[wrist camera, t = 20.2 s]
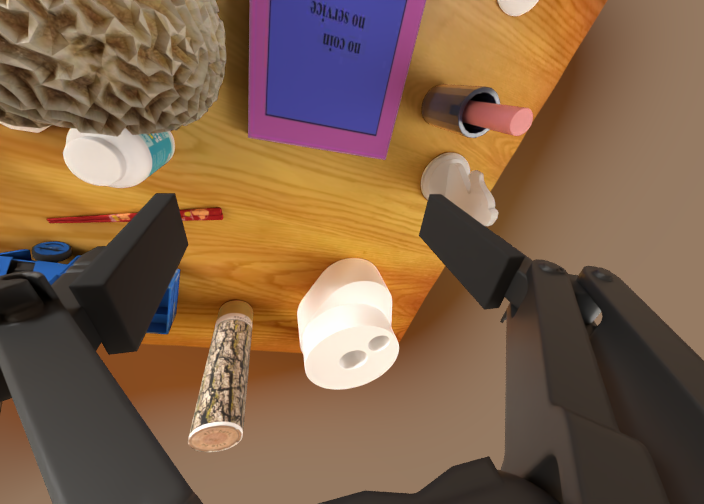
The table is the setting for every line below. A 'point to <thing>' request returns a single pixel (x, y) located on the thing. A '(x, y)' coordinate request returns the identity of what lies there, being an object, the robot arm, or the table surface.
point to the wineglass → (516, 6)
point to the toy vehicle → (59, 251)
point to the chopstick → (185, 214)
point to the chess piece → (459, 186)
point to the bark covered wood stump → (224, 381)
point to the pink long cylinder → (498, 117)
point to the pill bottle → (117, 156)
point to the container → (347, 326)
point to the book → (329, 71)
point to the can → (455, 107)
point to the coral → (109, 63)
